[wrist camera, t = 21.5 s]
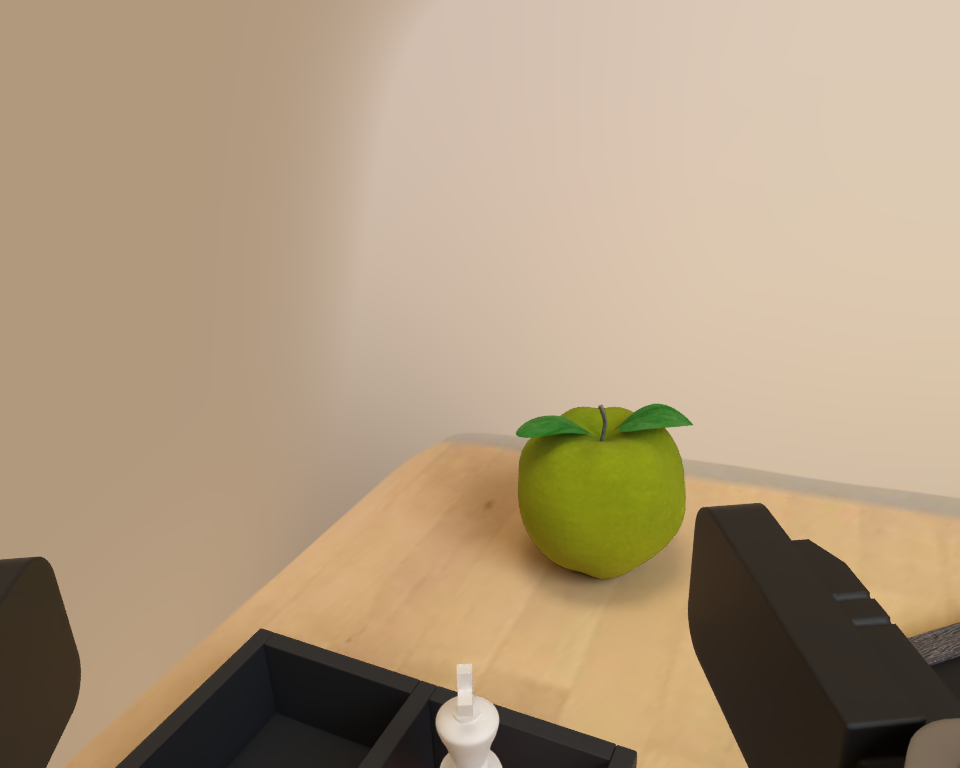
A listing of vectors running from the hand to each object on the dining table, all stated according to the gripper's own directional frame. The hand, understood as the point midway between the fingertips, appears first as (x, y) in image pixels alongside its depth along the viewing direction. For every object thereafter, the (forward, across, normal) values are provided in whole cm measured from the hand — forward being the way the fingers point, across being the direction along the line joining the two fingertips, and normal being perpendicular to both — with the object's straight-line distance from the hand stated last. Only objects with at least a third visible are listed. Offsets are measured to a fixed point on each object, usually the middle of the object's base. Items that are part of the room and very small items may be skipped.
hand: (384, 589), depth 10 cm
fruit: (+30, -10, +22) cm, 39 cm away
